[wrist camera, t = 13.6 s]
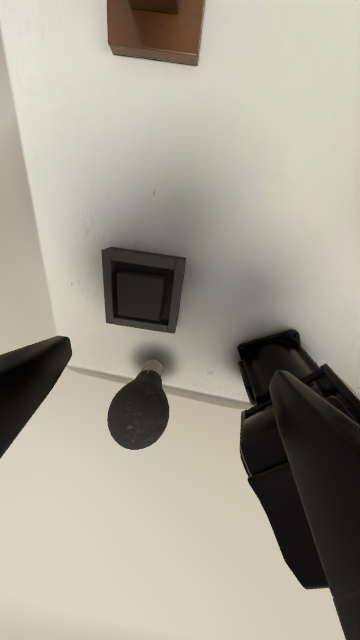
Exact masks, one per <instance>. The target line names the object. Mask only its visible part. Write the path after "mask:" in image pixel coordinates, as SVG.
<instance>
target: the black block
mask: <svg viewBox="0 0 360 640" xmlns="http://www.w3.org/2000/svg"><path fill="white" fill-rule="evenodd" d="M165 283H166V275H165V274H158V273H151V272H145V271H138V270H131V269H123V270H122V271H120V272H118V273H117V295H118V315H123V316H129V317H136V318H142V319H149V320H156V321H159V320H160V318H161V315H162V313H163V304H164V294H165Z"/></svg>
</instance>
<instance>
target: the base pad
mask: <svg viewBox="0 0 360 640" xmlns="http://www.w3.org/2000/svg"><path fill="white" fill-rule="evenodd" d="M185 263H186V258H182V257H175V256H168V255H162V254H155V253H148V252H142V251H135V250H128V249H122V248H115V247H110V248H107V249H103V250H102V266H103V282H104V297H105V313H106V323H110V324H116V325H122V326H129V327H135V328H142V329H148V330H154V331H161V332H168V333H175V331H176V326H177V320H178V313H179V305H180V298H181V291H182V284H183V277H184V270H185ZM123 269H131V270H138V271H145V272H151V273H158V274H165V275H166V283H165V294H164V304H163V313H162V315H161V318H160V320H159V321H156V320H149V319H142V318H136V317H129V316H123V315H118V295H117V273H118V272H120V271H122V270H123Z"/></svg>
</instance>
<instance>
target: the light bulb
mask: <svg viewBox="0 0 360 640" xmlns="http://www.w3.org/2000/svg"><path fill="white" fill-rule="evenodd" d="M162 372H163V366H162V364H161V363H160V362H159V361H157V360H148V361H146V362H145V363H144V365H143V367H142V370H141V372H140V373H139V374H138V376H137V377H136V379H135V380H133V381H132V382H130V383H128V384H127V385H125V386H124V387H123V388H122V389H121V390H120V391H119V392H118V393H117V394H116V395H115V397H114V398H113V400H112V402H111V404H110V407H109V411H108V420H107V421H108V427H109V431H110V433H111V436H112V437H113V438H114V440H115V441H116V442H117V443H118V444H119V445H120V446H122V447H124V448H127V449H131V450H138V449H143V448H146V447H148V446H150V445H152V444H153V443H155V442H156V441H157V440H158V439H159V438H160V436H161V435H162V434H163V432H164V430H165V428H166V426H167V423H168V419H169V405H168V400H167V397H166V394H165V392H164V390H163V388H162V379H161V376H162Z"/></svg>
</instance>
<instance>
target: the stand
mask: <svg viewBox="0 0 360 640" xmlns="http://www.w3.org/2000/svg"><path fill="white" fill-rule="evenodd" d="M204 6H205V0H107V24H108V44H109V46H110V48H111V50H112V53H113V54H118V55H125V56H133V57H140V58H147V59H155V60H162V61H169V62H176V63H184V64H191V65H198V58H199V49H200V40H201V32H202V23H203V14H204Z"/></svg>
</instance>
